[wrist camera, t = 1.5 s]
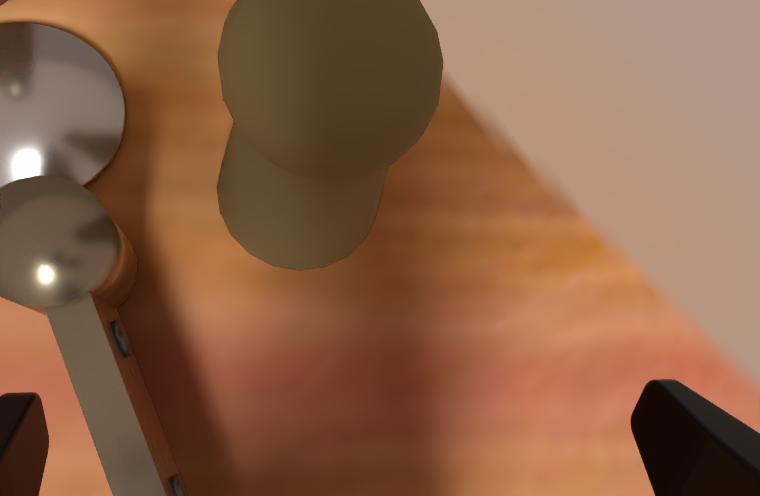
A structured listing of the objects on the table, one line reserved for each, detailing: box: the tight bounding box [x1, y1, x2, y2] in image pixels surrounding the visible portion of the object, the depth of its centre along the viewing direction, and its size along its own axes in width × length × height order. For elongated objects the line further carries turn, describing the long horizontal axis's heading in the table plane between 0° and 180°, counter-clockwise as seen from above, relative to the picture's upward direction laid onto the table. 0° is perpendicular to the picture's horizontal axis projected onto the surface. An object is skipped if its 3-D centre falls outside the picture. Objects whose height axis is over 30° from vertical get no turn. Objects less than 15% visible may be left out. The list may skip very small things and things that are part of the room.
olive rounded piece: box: [217, 0, 443, 271], centre depth 18 cm, size 6×6×11 cm
